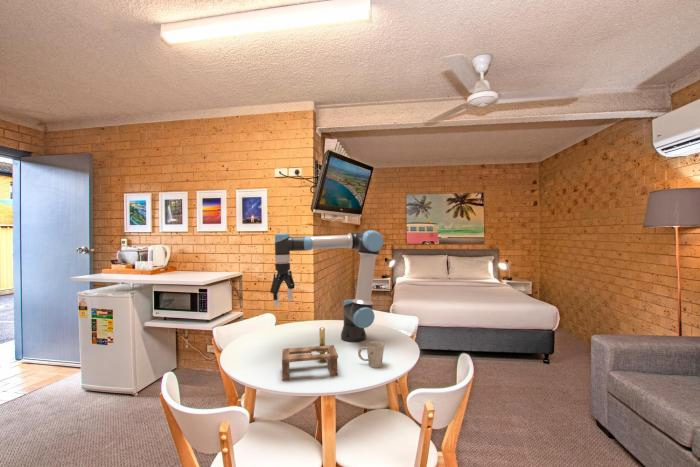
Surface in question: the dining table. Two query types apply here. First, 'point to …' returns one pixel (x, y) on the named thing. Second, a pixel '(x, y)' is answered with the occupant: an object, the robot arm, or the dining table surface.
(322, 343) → the pin
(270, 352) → the dining table surface
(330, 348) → the keyhole shelf
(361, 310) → the robot arm
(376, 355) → the mug
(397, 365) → the dining table surface
